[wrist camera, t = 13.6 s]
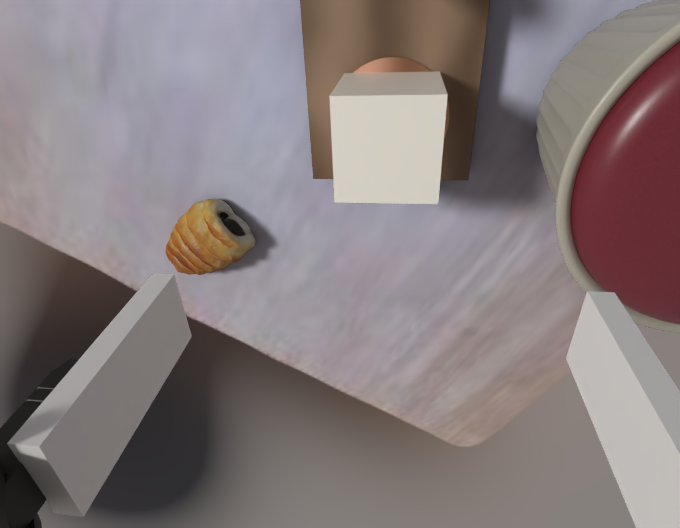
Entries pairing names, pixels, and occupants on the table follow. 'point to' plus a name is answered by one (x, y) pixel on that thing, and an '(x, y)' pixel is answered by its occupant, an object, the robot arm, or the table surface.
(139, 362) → the robot arm
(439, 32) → the board
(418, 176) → the matte off-white cube
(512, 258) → the table surface
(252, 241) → the pastry
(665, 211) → the canister
